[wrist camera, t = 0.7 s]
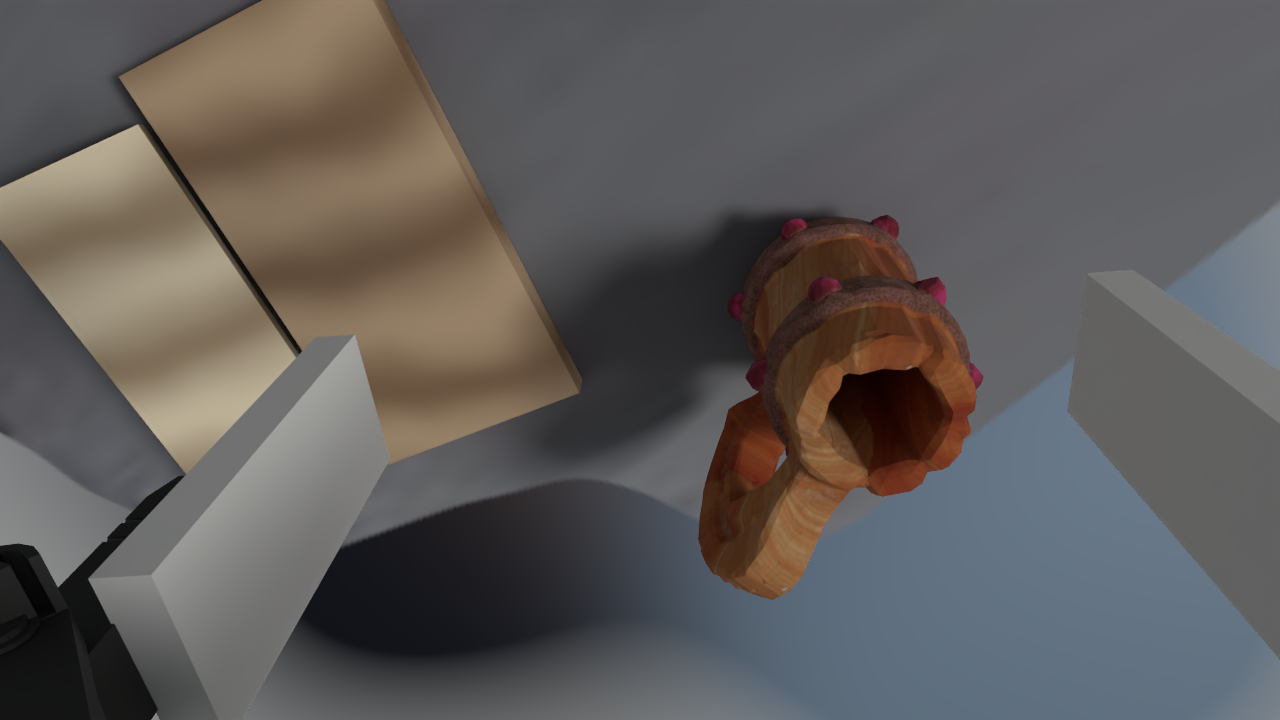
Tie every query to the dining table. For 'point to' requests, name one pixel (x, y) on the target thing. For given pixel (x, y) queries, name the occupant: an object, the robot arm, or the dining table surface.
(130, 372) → the plank
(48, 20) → the dining table surface
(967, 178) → the dining table surface
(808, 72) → the dining table surface
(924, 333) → the mug
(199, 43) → the floorboard
